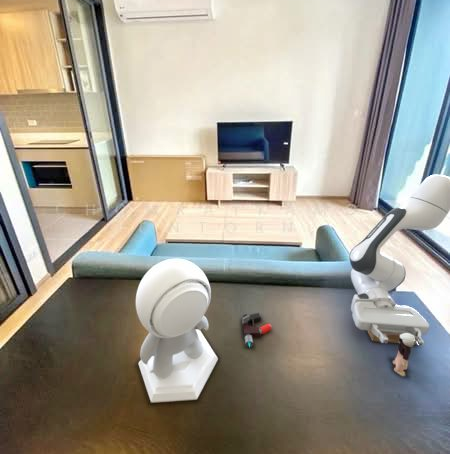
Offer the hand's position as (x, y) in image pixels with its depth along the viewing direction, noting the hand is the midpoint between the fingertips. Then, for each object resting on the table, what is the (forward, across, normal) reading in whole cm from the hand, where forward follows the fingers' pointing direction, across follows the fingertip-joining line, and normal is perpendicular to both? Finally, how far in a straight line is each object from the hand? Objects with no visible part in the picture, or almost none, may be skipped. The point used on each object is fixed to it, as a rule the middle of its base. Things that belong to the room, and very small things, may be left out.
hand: (403, 343), depth 69 cm
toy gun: (-6, +40, -9) cm, 41 cm away
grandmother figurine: (+1, 0, -9) cm, 9 cm away
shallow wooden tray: (-14, -3, -8) cm, 17 cm away
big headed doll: (+6, +63, -9) cm, 64 cm away
